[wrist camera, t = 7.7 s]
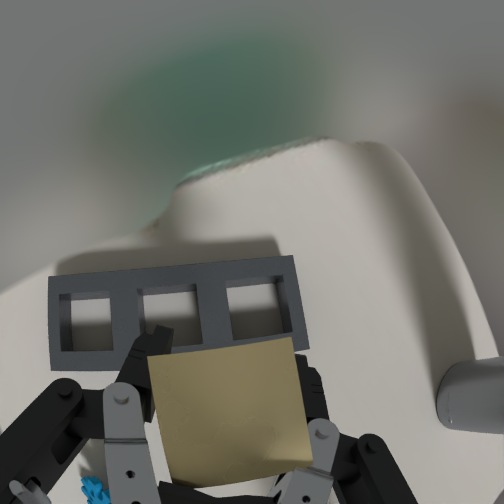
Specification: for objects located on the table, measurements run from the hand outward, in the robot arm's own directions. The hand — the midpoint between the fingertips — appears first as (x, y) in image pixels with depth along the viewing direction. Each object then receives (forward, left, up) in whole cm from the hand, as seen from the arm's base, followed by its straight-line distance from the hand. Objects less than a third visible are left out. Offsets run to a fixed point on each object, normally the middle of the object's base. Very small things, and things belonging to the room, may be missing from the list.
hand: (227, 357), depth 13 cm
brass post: (+1, +2, -5) cm, 5 cm away
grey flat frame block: (+4, -4, -16) cm, 17 cm away
